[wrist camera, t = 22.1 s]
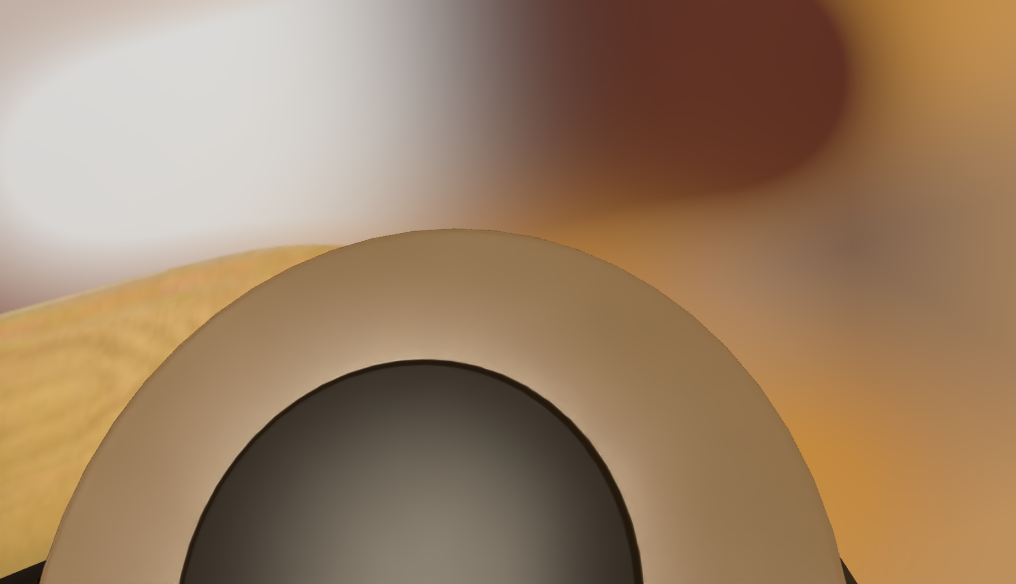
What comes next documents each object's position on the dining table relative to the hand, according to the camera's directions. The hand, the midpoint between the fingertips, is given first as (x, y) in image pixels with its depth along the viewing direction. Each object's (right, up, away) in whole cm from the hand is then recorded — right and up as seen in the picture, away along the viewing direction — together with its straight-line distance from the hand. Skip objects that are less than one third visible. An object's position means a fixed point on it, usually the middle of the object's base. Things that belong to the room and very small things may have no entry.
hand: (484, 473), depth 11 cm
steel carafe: (0, -4, +4) cm, 6 cm away
